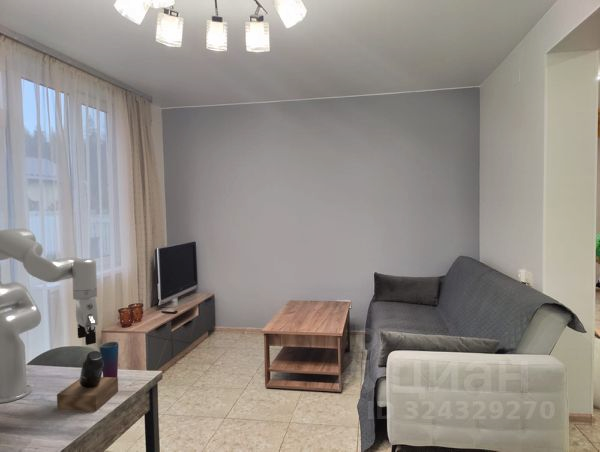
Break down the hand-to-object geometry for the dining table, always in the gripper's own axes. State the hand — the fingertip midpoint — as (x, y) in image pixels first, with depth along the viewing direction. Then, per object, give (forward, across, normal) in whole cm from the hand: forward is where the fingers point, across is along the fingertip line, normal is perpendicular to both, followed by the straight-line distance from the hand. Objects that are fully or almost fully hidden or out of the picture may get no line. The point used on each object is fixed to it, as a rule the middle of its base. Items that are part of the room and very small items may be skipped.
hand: (86, 340), depth 138 cm
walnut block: (+23, 0, 0) cm, 23 cm away
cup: (+22, +12, -11) cm, 28 cm away
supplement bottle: (+16, 0, 0) cm, 16 cm away
